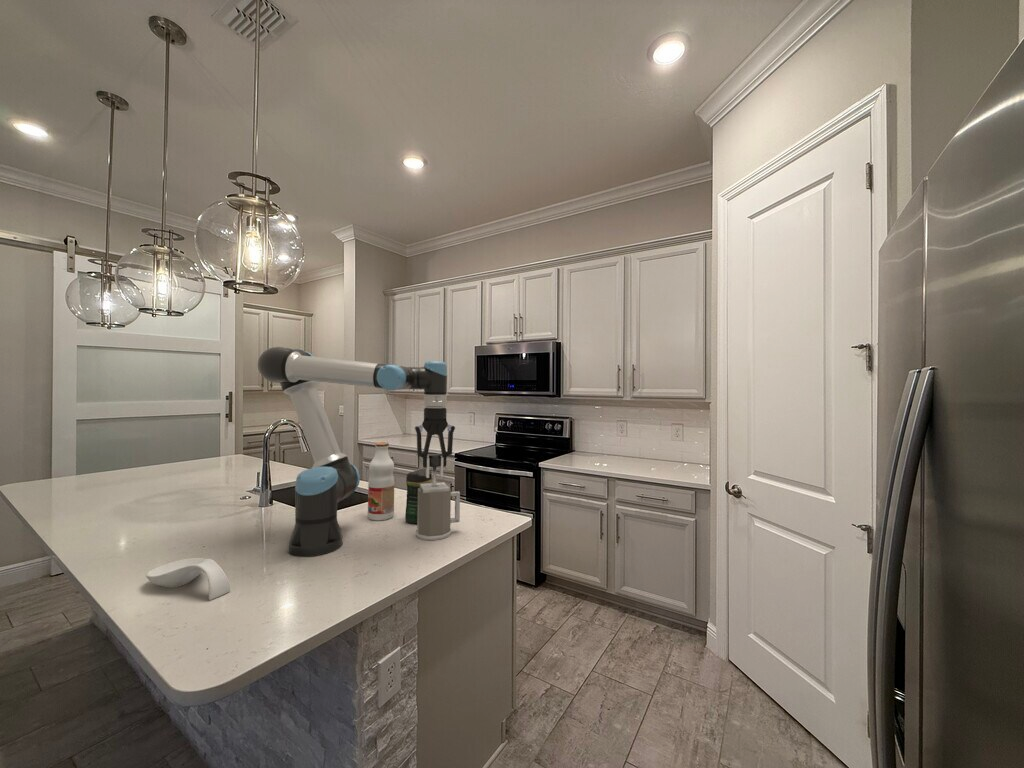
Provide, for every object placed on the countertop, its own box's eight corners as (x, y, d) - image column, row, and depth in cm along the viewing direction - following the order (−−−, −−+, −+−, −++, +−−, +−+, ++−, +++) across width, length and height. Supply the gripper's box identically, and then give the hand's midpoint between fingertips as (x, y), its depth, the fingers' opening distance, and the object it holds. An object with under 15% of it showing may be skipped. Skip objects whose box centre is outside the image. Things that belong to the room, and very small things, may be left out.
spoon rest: (135, 587, 102) (136, 558, 102) (188, 568, 113) (189, 541, 113) (194, 609, 93) (195, 577, 93) (246, 586, 103) (247, 557, 104)
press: (418, 542, 133) (418, 491, 133) (414, 530, 144) (414, 483, 144) (462, 537, 138) (463, 488, 138) (455, 525, 149) (455, 480, 149)
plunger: (424, 519, 135) (424, 457, 136) (420, 512, 143) (421, 453, 143) (447, 517, 138) (448, 456, 138) (443, 510, 145) (443, 452, 145)
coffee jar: (420, 525, 148) (420, 473, 148) (401, 522, 151) (402, 471, 151) (434, 517, 157) (435, 468, 157) (417, 515, 160) (417, 466, 160)
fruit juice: (394, 519, 155) (395, 444, 155) (367, 522, 152) (368, 445, 152) (393, 512, 164) (394, 440, 164) (367, 514, 160) (368, 441, 161)
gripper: (410, 408, 134) (409, 480, 134) (462, 407, 140) (461, 477, 140) (408, 406, 141) (407, 475, 141) (457, 406, 147) (457, 472, 147)
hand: (434, 476), depth 140 cm, fingers closed on plunger, 4 cm apart
